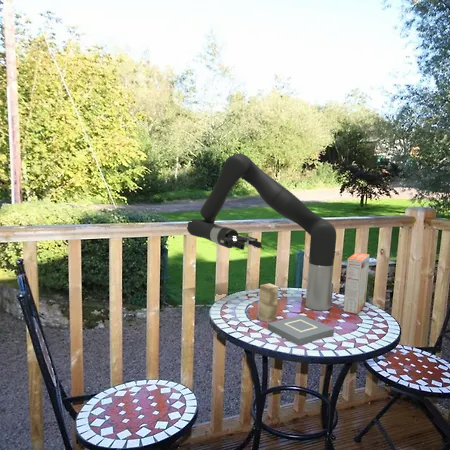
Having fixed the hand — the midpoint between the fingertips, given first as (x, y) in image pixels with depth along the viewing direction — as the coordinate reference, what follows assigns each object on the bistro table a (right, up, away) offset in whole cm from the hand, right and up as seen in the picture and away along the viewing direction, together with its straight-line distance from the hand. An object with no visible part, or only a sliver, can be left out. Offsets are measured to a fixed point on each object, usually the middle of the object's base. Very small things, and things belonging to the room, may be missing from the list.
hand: (252, 246), depth 146 cm
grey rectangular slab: (+15, -27, -14) cm, 34 cm away
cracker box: (+40, -25, +11) cm, 49 cm away
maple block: (+5, -25, -4) cm, 26 cm away
